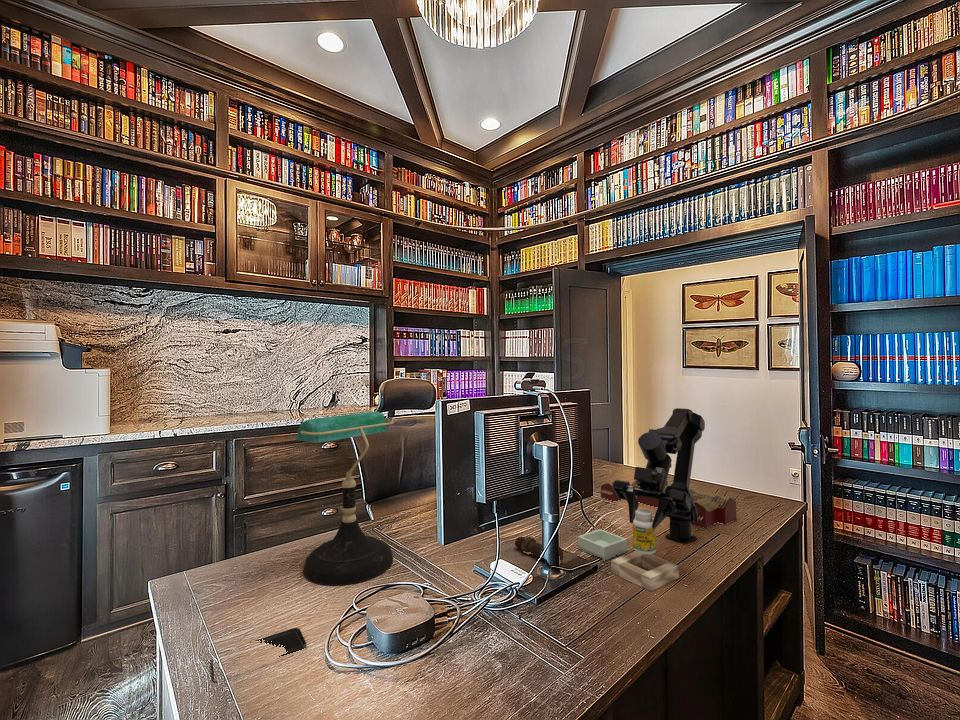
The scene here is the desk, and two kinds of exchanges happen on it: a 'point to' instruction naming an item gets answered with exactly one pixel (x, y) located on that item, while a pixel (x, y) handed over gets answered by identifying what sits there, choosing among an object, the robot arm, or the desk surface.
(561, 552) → the brown long lumpy piece
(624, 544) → the tray
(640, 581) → the socket block
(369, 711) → the desk surface
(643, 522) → the supplement bottle
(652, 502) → the toy houses
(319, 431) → the banker's lamp
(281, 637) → the phone
